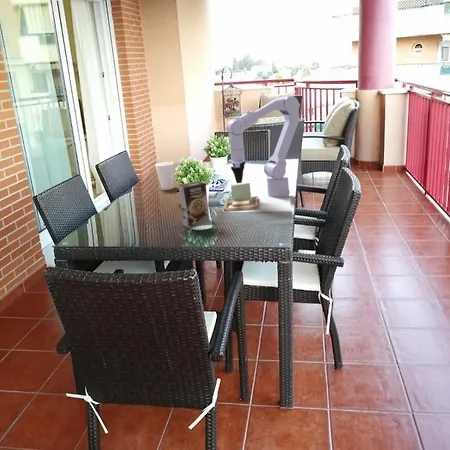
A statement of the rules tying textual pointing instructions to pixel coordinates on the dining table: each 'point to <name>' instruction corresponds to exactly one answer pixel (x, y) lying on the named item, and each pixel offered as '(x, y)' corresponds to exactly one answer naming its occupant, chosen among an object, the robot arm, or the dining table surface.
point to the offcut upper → (240, 204)
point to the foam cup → (166, 175)
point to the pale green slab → (241, 192)
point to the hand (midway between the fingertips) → (239, 180)
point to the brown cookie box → (193, 203)
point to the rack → (229, 201)
